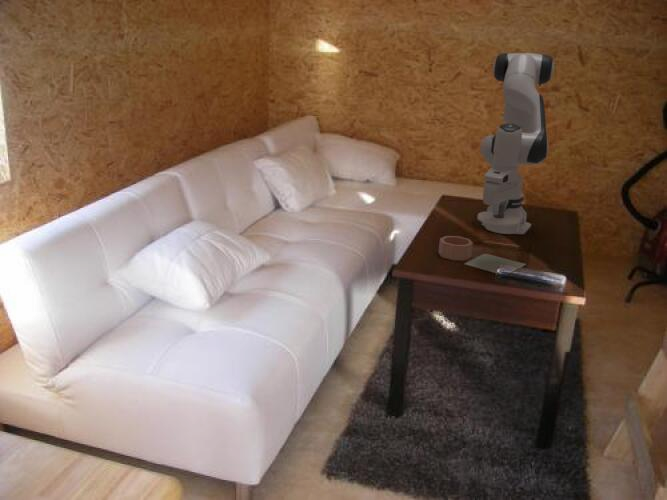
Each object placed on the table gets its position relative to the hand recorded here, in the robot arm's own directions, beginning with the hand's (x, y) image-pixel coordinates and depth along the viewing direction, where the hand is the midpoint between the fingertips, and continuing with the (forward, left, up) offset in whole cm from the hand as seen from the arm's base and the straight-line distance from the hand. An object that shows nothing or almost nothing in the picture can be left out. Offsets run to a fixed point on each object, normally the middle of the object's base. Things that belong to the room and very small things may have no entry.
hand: (498, 213), depth 221 cm
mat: (0, +1, -19) cm, 19 cm away
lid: (0, 0, -3) cm, 2 cm away
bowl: (+2, -14, -19) cm, 24 cm away
